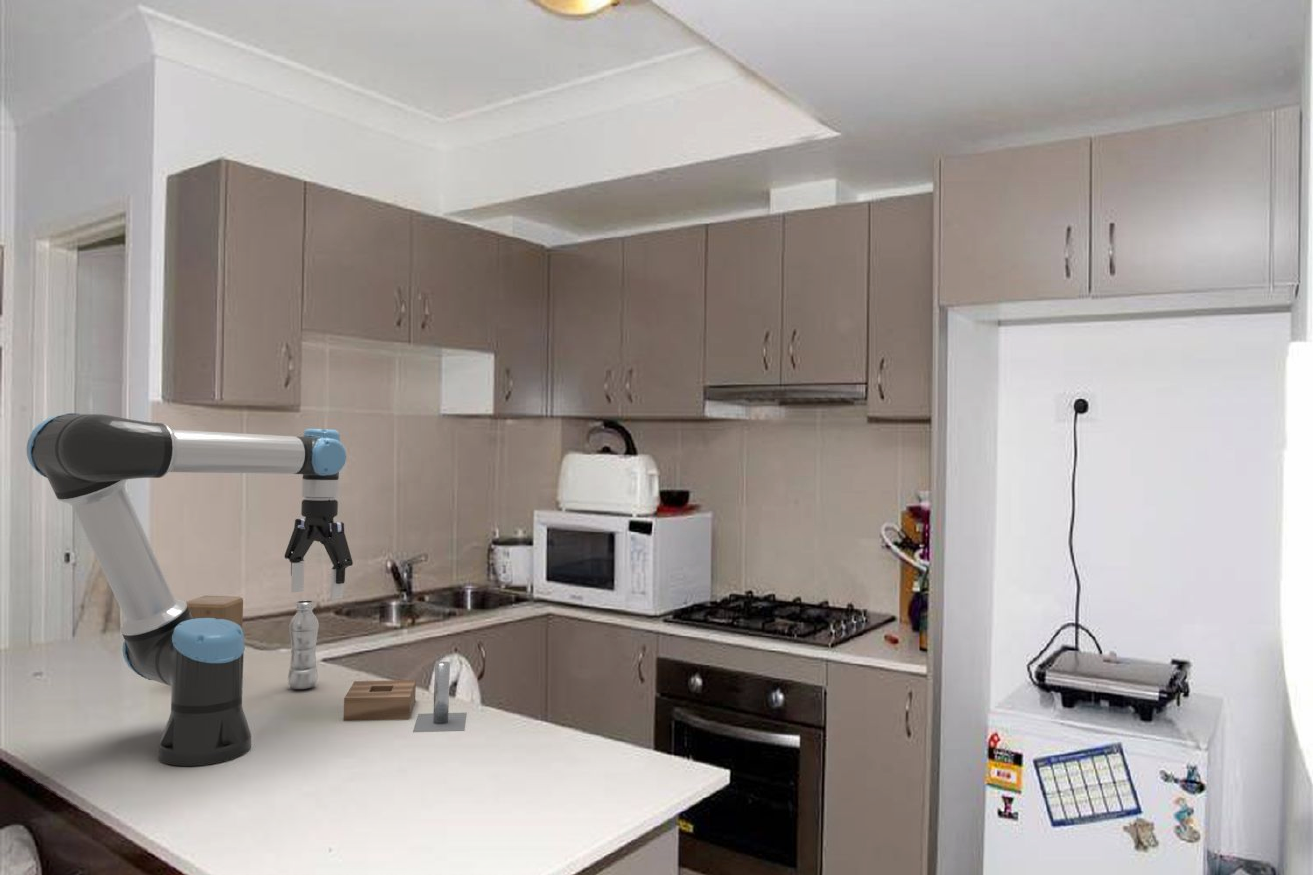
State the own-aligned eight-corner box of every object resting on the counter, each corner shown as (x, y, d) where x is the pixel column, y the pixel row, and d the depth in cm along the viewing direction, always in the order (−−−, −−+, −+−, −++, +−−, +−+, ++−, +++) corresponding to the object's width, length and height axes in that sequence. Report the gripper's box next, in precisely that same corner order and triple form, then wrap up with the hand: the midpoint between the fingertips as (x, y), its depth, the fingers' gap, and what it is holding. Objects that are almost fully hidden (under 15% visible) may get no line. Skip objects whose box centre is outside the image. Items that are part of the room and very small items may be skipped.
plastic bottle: (322, 685, 209) (325, 599, 209) (308, 693, 202) (311, 604, 202) (296, 683, 210) (299, 598, 210) (281, 691, 203) (284, 603, 203)
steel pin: (447, 723, 182) (449, 664, 182) (432, 724, 181) (434, 665, 181) (448, 719, 185) (450, 661, 185) (433, 719, 184) (435, 661, 184)
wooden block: (221, 692, 201) (223, 603, 201) (177, 690, 201) (179, 602, 202) (242, 680, 211) (245, 595, 211) (200, 679, 211) (203, 594, 212)
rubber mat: (464, 732, 178) (464, 730, 178) (412, 733, 176) (412, 731, 176) (466, 714, 190) (466, 712, 190) (418, 715, 188) (418, 713, 188)
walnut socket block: (409, 720, 184) (409, 696, 184) (343, 722, 182) (344, 697, 182) (415, 702, 197) (415, 679, 197) (353, 703, 195) (354, 681, 195)
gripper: (371, 501, 194) (368, 599, 193) (299, 495, 207) (295, 586, 207) (343, 502, 187) (339, 603, 187) (270, 496, 201) (266, 590, 200)
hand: (316, 595), depth 197 cm, fingers open, 13 cm apart
